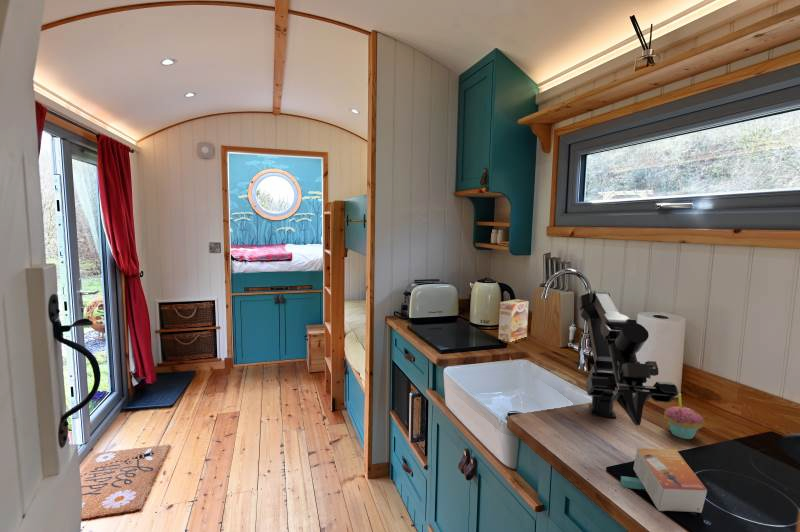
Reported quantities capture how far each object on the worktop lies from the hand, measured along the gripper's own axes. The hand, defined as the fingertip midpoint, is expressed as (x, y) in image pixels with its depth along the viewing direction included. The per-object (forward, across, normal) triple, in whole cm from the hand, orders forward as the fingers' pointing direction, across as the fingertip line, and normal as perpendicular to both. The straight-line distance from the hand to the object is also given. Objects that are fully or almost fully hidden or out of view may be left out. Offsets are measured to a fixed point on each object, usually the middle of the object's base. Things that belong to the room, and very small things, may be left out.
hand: (637, 424), depth 93 cm
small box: (+8, +1, -3) cm, 8 cm away
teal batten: (+14, 0, -1) cm, 14 cm away
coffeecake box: (-63, -20, +78) cm, 102 cm away
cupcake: (-5, +17, +18) cm, 25 cm away
